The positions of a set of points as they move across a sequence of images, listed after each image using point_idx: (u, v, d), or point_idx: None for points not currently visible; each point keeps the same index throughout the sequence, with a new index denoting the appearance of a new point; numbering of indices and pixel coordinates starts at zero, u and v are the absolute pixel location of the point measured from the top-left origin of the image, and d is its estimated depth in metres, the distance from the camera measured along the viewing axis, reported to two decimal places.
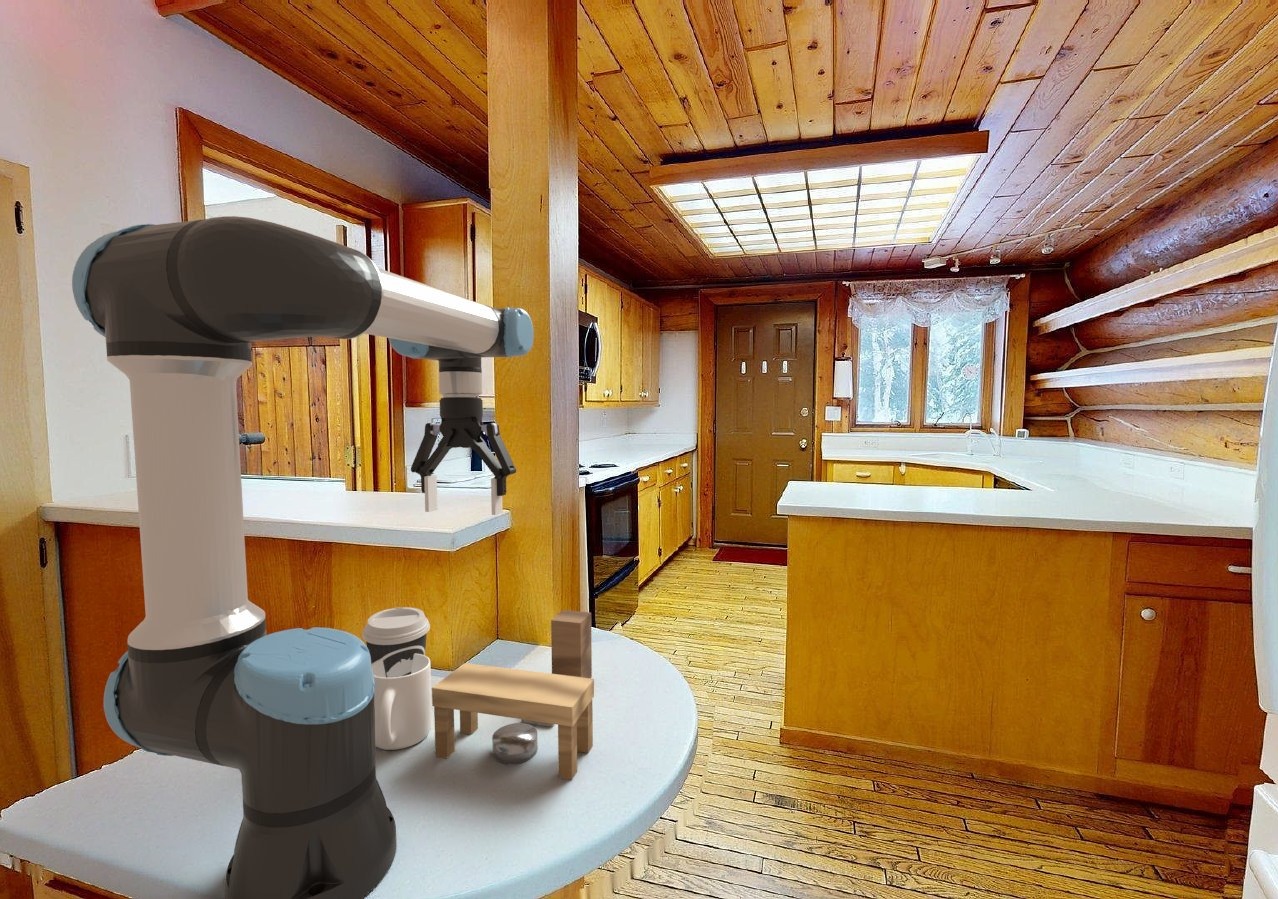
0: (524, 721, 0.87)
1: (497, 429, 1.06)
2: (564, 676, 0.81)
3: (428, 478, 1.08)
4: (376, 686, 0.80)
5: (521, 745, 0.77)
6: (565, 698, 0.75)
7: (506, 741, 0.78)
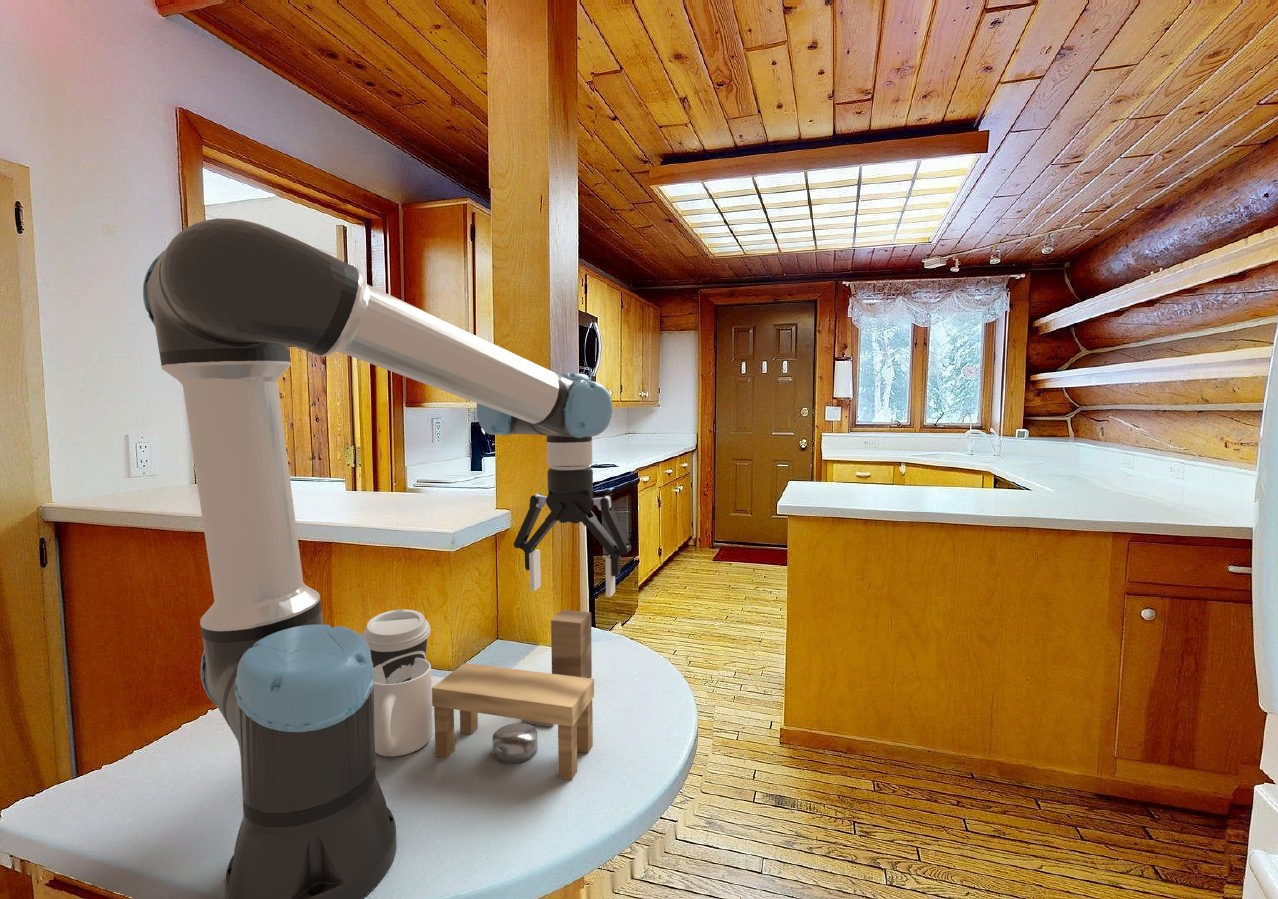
0: (524, 721, 0.87)
1: (610, 503, 0.97)
2: (564, 676, 0.81)
3: (533, 555, 1.00)
4: (375, 692, 0.78)
5: (522, 745, 0.77)
6: (565, 698, 0.75)
7: (506, 741, 0.78)
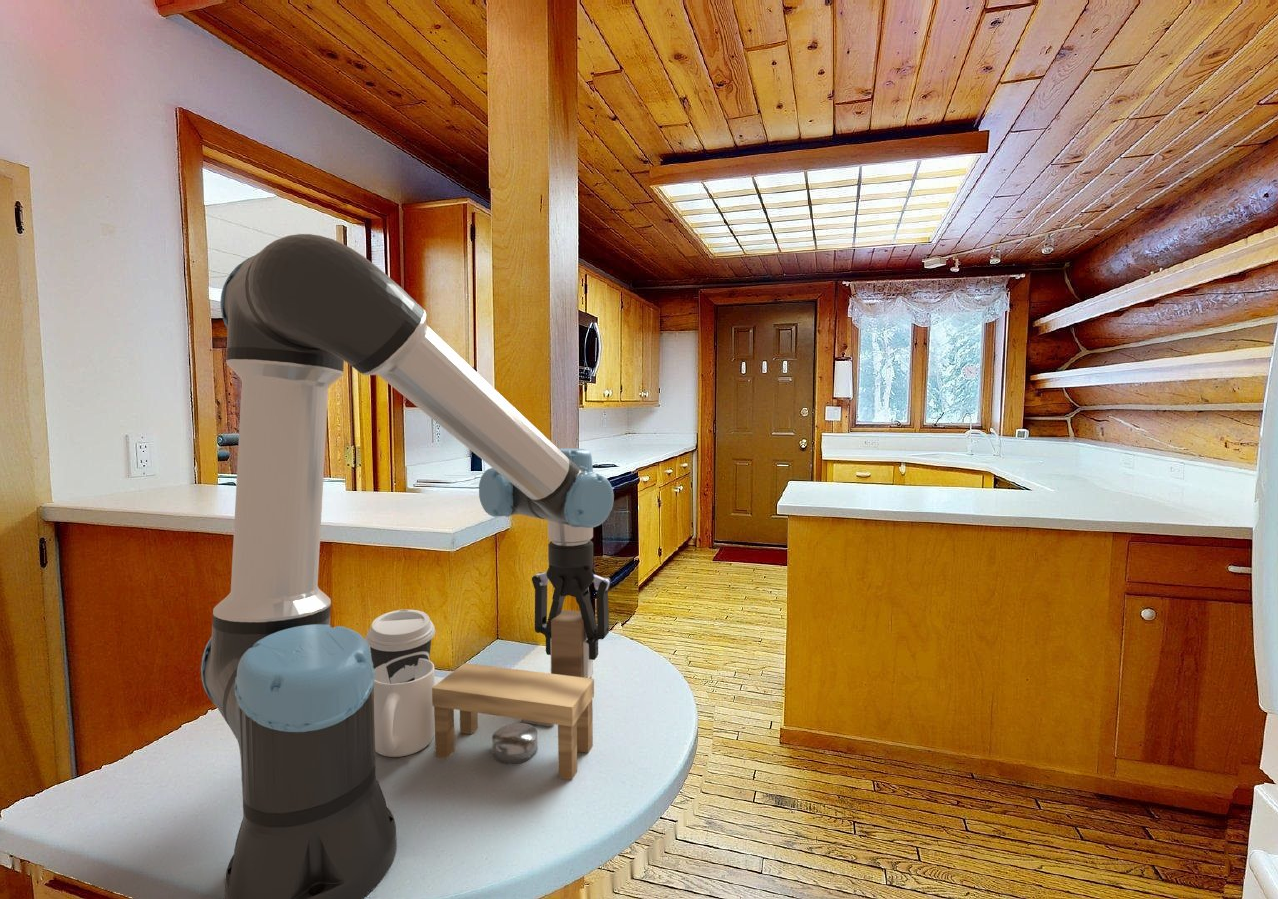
0: (524, 721, 0.87)
1: (608, 586, 0.98)
2: (564, 676, 0.81)
3: None
4: (379, 692, 0.78)
5: (522, 745, 0.77)
6: (565, 698, 0.75)
7: (506, 741, 0.78)
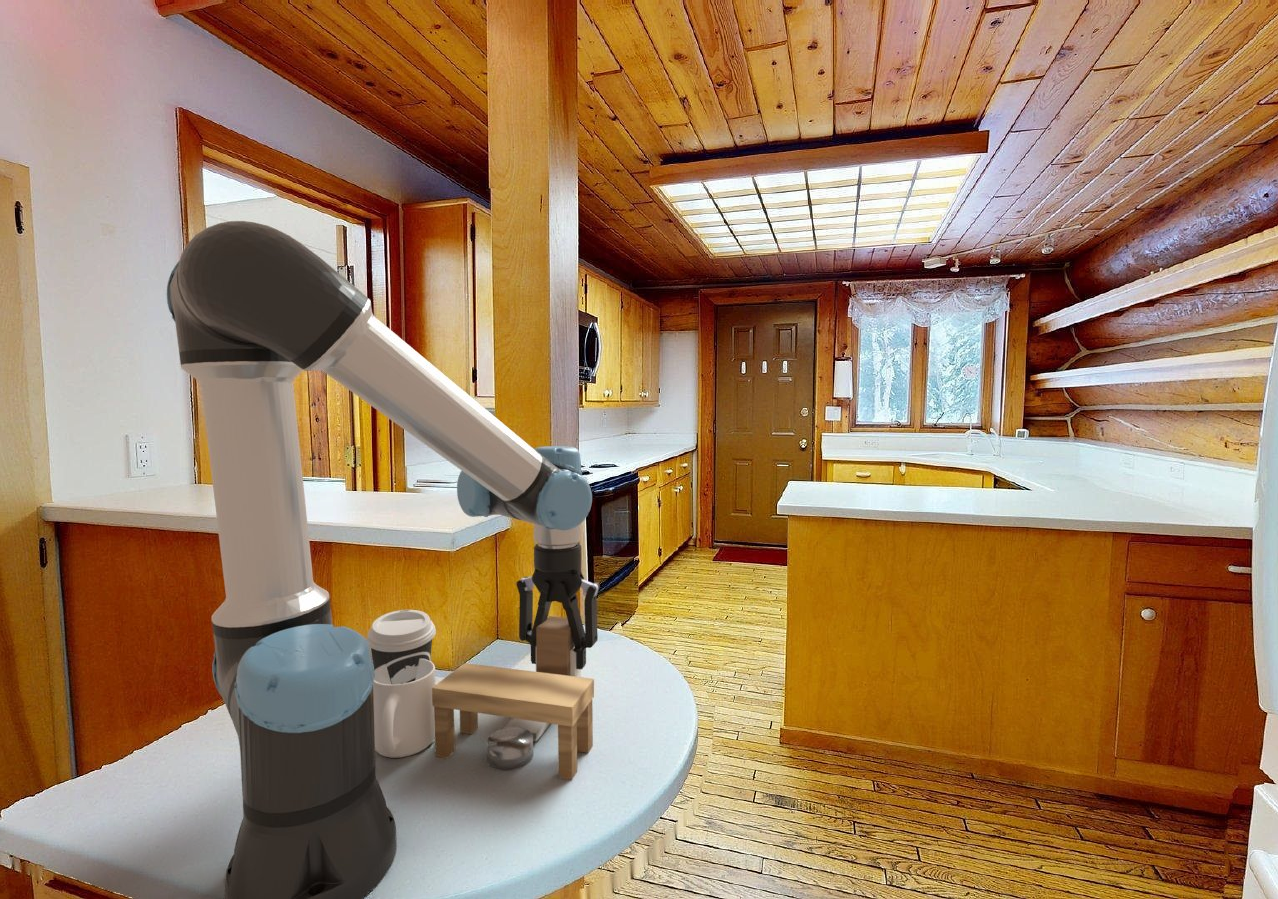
0: None
1: (597, 592, 0.93)
2: (564, 676, 0.81)
3: None
4: (379, 693, 0.78)
5: (517, 750, 0.76)
6: (565, 698, 0.75)
7: (501, 746, 0.77)
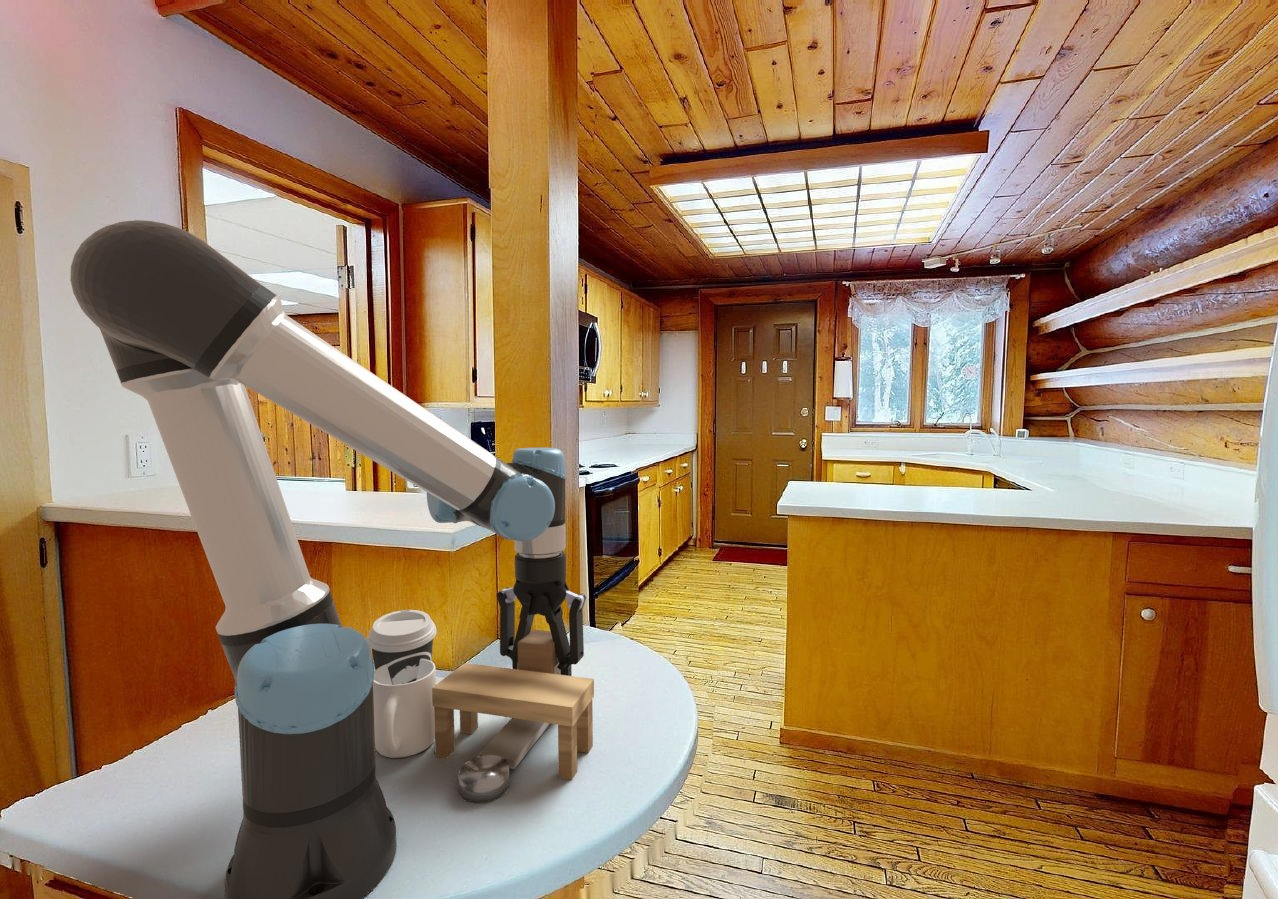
0: None
1: (582, 604, 0.86)
2: (564, 676, 0.81)
3: None
4: (379, 693, 0.78)
5: (489, 782, 0.70)
6: (565, 698, 0.75)
7: (473, 777, 0.71)
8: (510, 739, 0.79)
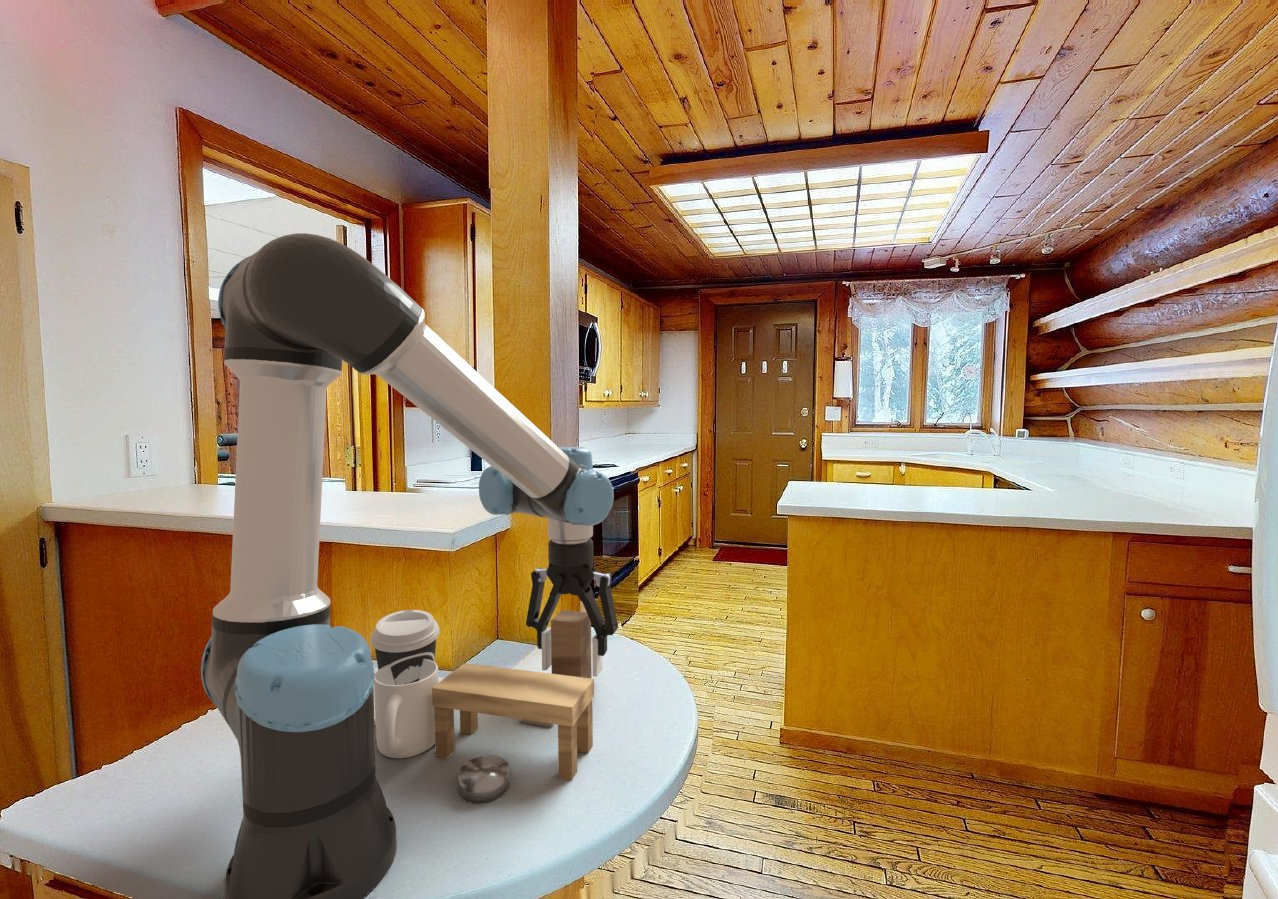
0: (524, 721, 0.87)
1: (609, 581, 0.98)
2: (564, 676, 0.81)
3: (546, 634, 1.00)
4: (381, 693, 0.78)
5: (489, 782, 0.70)
6: (565, 698, 0.75)
7: (473, 778, 0.71)
8: None
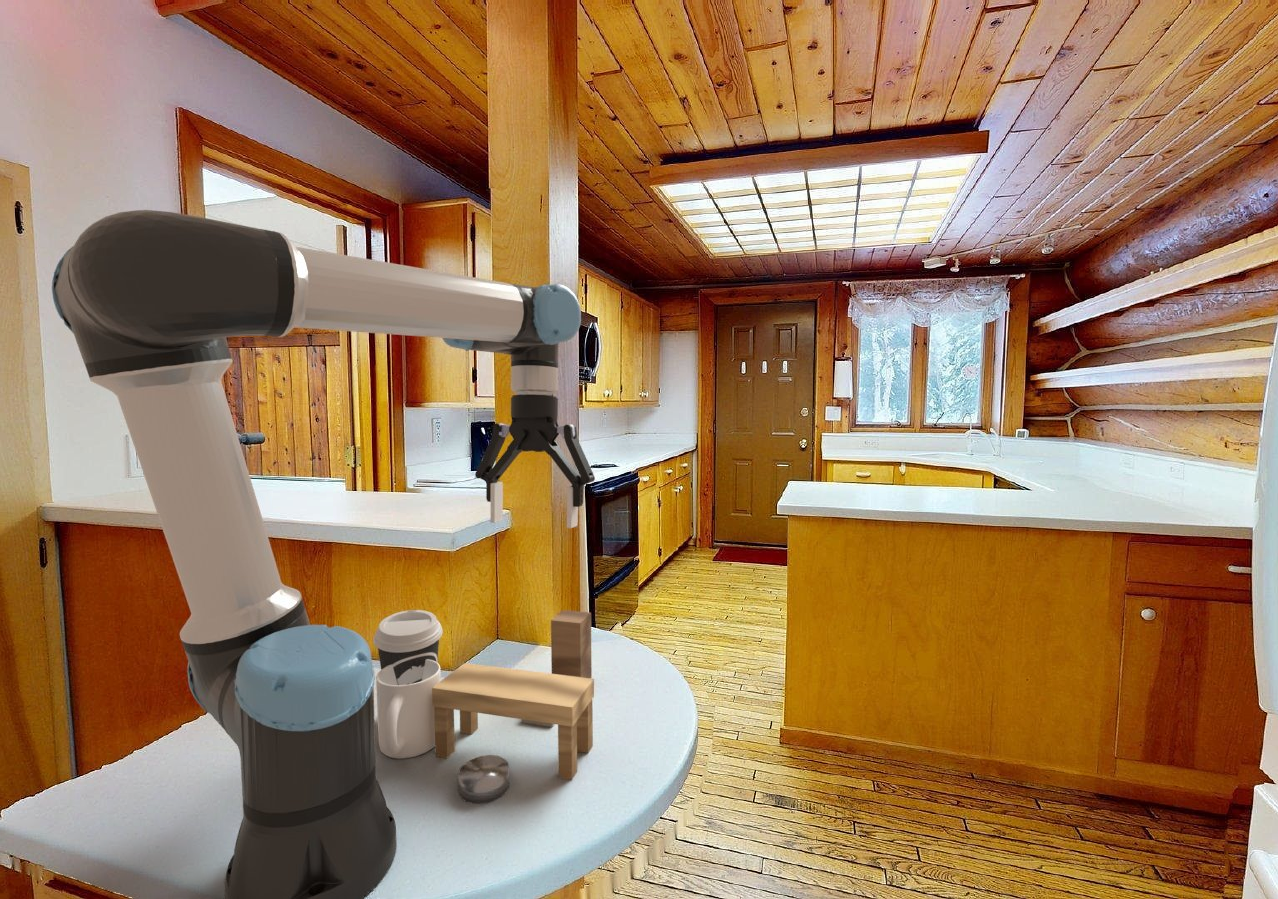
0: (524, 721, 0.87)
1: (575, 431, 0.94)
2: (564, 676, 0.81)
3: (495, 485, 0.97)
4: (384, 693, 0.78)
5: (489, 782, 0.70)
6: (565, 698, 0.75)
7: (473, 778, 0.71)
8: None
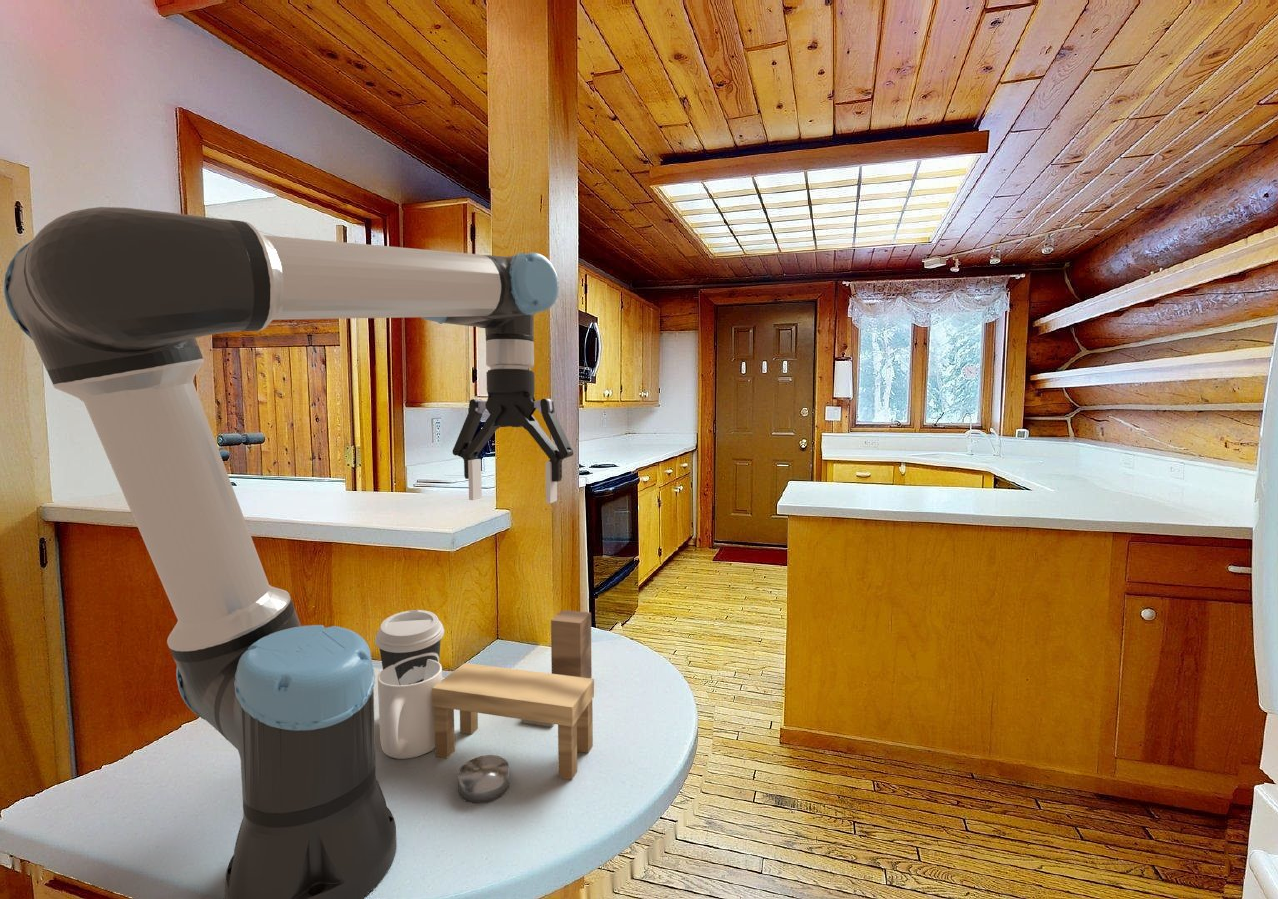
0: (524, 721, 0.87)
1: (552, 406, 0.93)
2: (564, 676, 0.81)
3: (472, 462, 0.96)
4: (385, 694, 0.78)
5: (489, 782, 0.70)
6: (565, 698, 0.75)
7: (473, 778, 0.71)
8: None
